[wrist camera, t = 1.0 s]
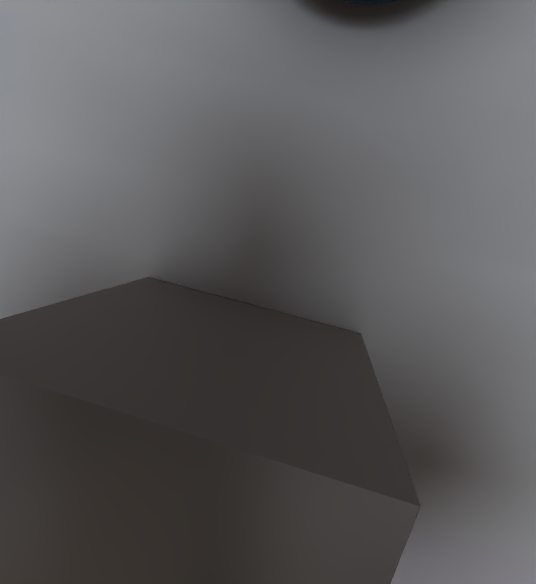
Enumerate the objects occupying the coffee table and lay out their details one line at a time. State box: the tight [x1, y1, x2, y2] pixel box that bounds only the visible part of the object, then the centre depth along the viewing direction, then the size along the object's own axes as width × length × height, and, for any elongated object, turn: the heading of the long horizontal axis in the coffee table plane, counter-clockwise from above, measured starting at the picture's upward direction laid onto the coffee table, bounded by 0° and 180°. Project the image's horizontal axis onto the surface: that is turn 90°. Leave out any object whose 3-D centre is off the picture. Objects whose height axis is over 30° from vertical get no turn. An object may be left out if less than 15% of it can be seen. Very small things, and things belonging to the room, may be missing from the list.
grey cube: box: [0, 277, 420, 584], centre depth 9 cm, size 8×8×7 cm
